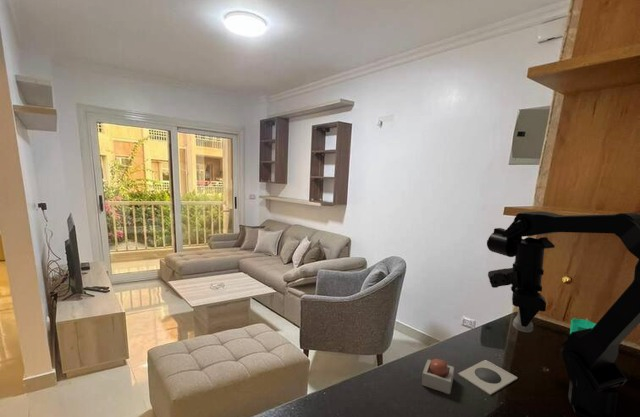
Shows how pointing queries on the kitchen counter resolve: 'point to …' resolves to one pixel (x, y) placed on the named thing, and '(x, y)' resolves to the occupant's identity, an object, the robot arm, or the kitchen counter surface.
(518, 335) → the kitchen counter surface
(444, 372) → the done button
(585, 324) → the candle
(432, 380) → the button housing
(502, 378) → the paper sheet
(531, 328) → the rook chess piece
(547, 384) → the kitchen counter surface
